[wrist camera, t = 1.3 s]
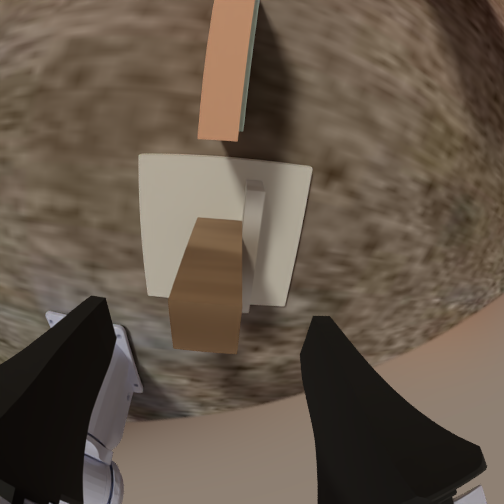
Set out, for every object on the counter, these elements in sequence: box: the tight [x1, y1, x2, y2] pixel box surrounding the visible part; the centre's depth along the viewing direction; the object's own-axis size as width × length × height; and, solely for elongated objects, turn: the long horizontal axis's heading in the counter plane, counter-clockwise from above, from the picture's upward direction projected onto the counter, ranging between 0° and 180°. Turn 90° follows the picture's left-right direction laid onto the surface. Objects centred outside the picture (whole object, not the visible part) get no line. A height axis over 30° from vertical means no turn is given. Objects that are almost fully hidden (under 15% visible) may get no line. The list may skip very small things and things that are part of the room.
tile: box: [198, 0, 260, 142], centre depth 8 cm, size 8×1×6 cm, turn 174°
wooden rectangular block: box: [168, 179, 265, 354], centre depth 12 cm, size 7×3×7 cm, turn 174°
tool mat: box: [139, 154, 313, 306], centre depth 16 cm, size 9×9×1 cm
